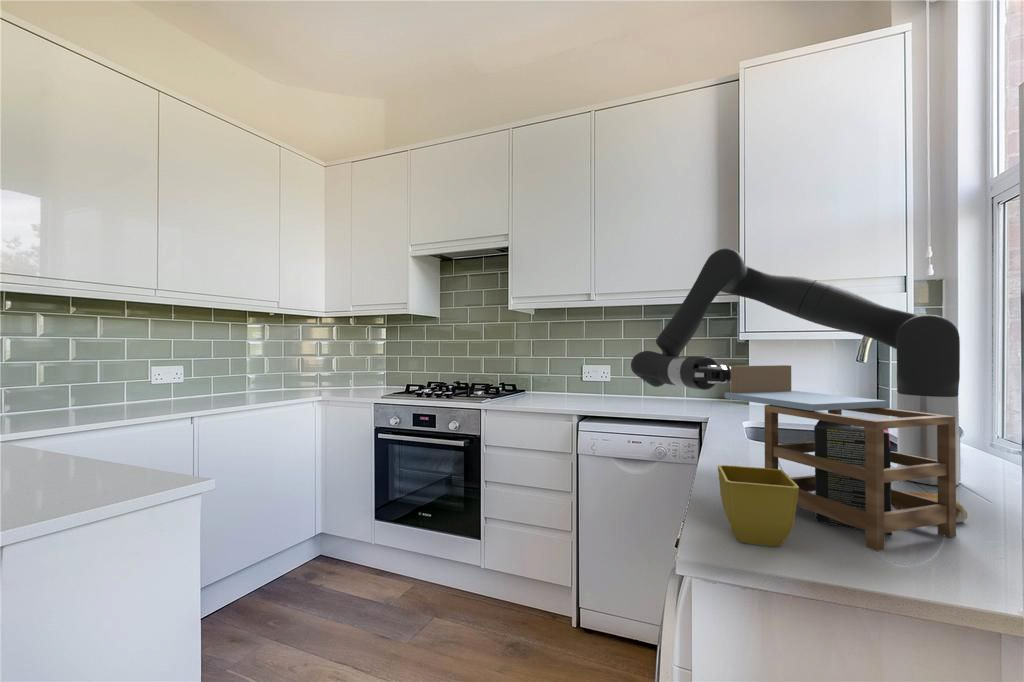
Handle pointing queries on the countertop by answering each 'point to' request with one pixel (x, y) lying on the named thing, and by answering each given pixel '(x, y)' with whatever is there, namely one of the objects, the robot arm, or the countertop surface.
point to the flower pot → (758, 503)
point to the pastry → (960, 510)
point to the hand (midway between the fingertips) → (752, 376)
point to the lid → (786, 390)
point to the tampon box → (849, 449)
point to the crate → (875, 472)
